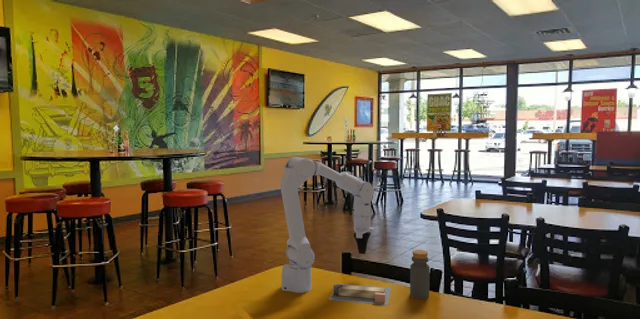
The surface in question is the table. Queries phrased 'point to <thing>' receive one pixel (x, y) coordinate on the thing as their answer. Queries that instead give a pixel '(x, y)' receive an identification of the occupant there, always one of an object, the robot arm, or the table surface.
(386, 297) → the stool seat
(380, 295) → the leg stop
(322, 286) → the table surface
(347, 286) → the stool leg
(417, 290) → the bottle
